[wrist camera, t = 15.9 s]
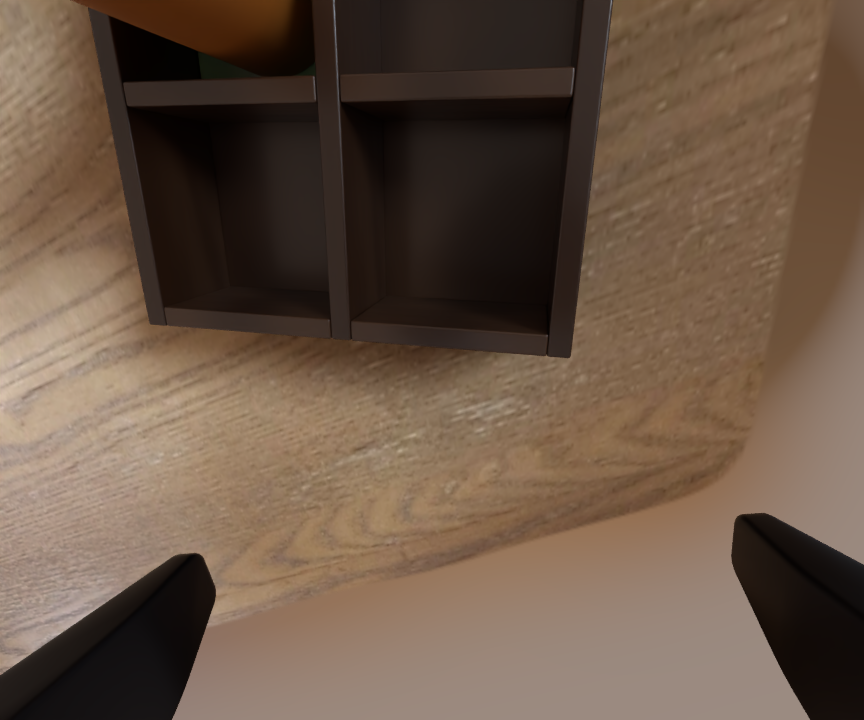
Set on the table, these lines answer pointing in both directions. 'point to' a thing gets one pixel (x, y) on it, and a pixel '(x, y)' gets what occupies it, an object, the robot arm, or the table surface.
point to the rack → (368, 174)
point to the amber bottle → (228, 29)
